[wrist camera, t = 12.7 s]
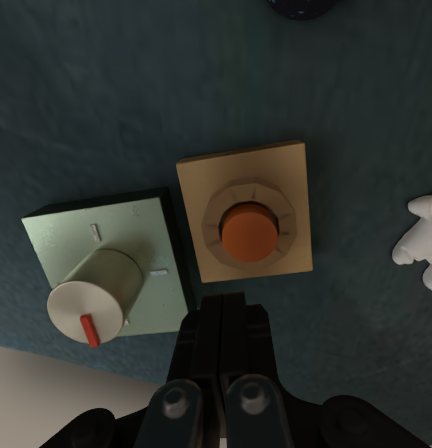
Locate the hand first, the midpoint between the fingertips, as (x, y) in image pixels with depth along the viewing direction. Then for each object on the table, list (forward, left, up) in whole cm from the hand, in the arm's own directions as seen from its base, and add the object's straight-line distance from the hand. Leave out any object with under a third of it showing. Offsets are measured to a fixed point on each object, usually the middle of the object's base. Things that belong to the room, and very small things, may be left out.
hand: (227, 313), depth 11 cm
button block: (+1, -1, -14) cm, 14 cm away
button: (+1, -1, -10) cm, 11 cm away
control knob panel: (-10, -4, -14) cm, 18 cm away
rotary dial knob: (-10, -4, -11) cm, 16 cm away
